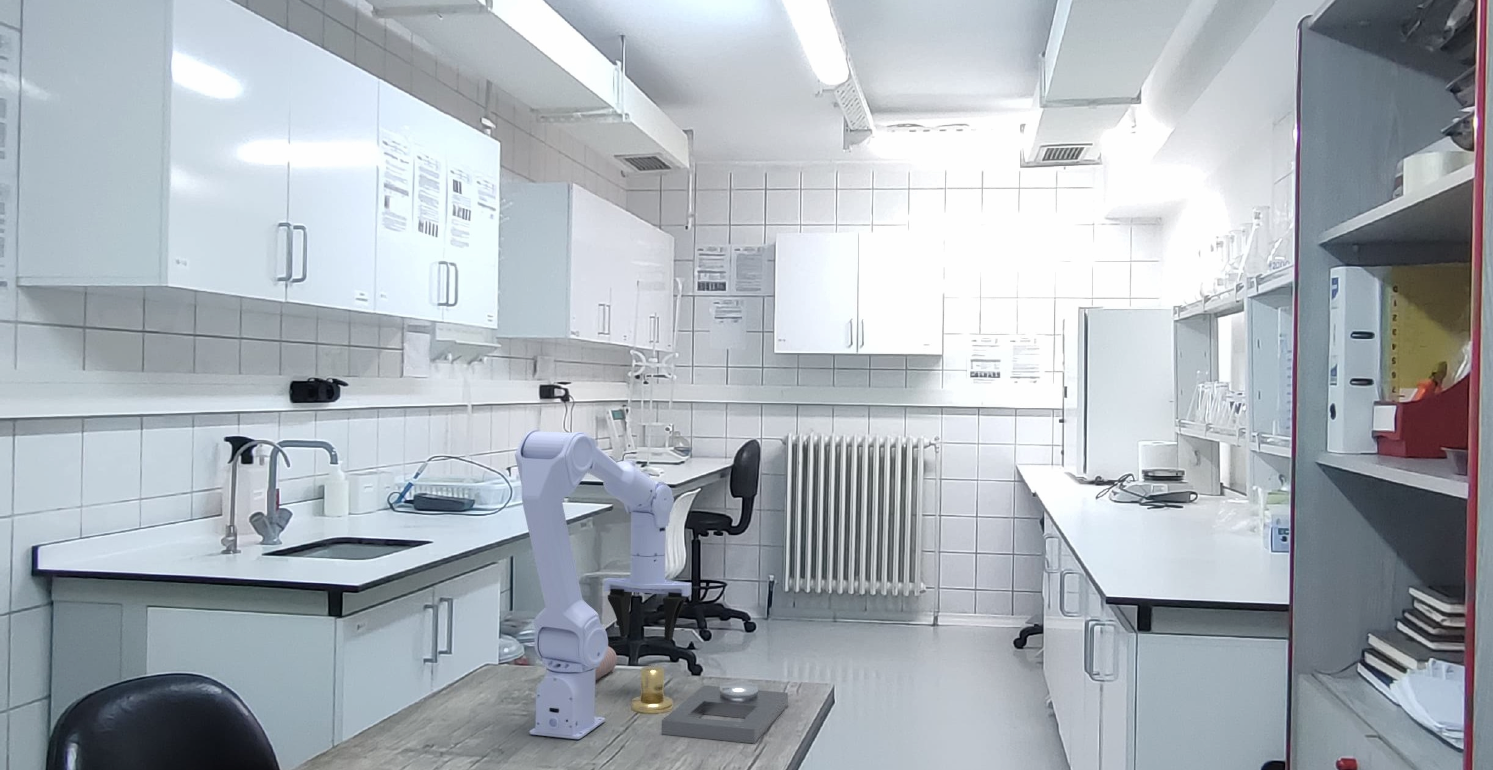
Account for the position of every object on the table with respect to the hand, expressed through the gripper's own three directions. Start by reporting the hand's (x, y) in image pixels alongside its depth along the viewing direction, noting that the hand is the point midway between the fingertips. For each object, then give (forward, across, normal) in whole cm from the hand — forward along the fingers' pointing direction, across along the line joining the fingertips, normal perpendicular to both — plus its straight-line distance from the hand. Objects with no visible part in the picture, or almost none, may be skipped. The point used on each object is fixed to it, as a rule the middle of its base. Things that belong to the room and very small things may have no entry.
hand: (646, 637), depth 180 cm
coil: (+10, +13, -5) cm, 17 cm away
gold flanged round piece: (+10, -3, +6) cm, 12 cm away
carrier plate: (+10, -16, +8) cm, 21 cm away
